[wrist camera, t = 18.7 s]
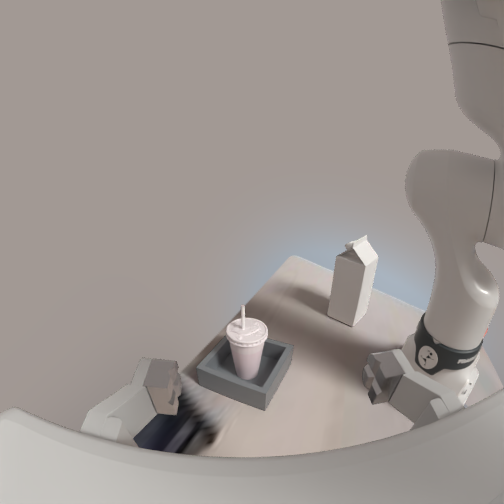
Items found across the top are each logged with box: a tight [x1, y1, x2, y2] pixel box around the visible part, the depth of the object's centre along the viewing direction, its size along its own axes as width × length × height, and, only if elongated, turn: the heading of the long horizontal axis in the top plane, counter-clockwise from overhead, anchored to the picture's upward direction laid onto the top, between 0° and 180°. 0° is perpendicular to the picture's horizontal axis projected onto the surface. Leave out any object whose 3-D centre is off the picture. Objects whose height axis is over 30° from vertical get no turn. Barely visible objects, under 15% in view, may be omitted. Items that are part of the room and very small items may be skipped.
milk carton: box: [327, 235, 378, 327], centre depth 57 cm, size 7×7×19 cm
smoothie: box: [226, 305, 268, 380], centre depth 42 cm, size 6×6×14 cm
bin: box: [196, 335, 294, 411], centre depth 44 cm, size 12×12×4 cm
